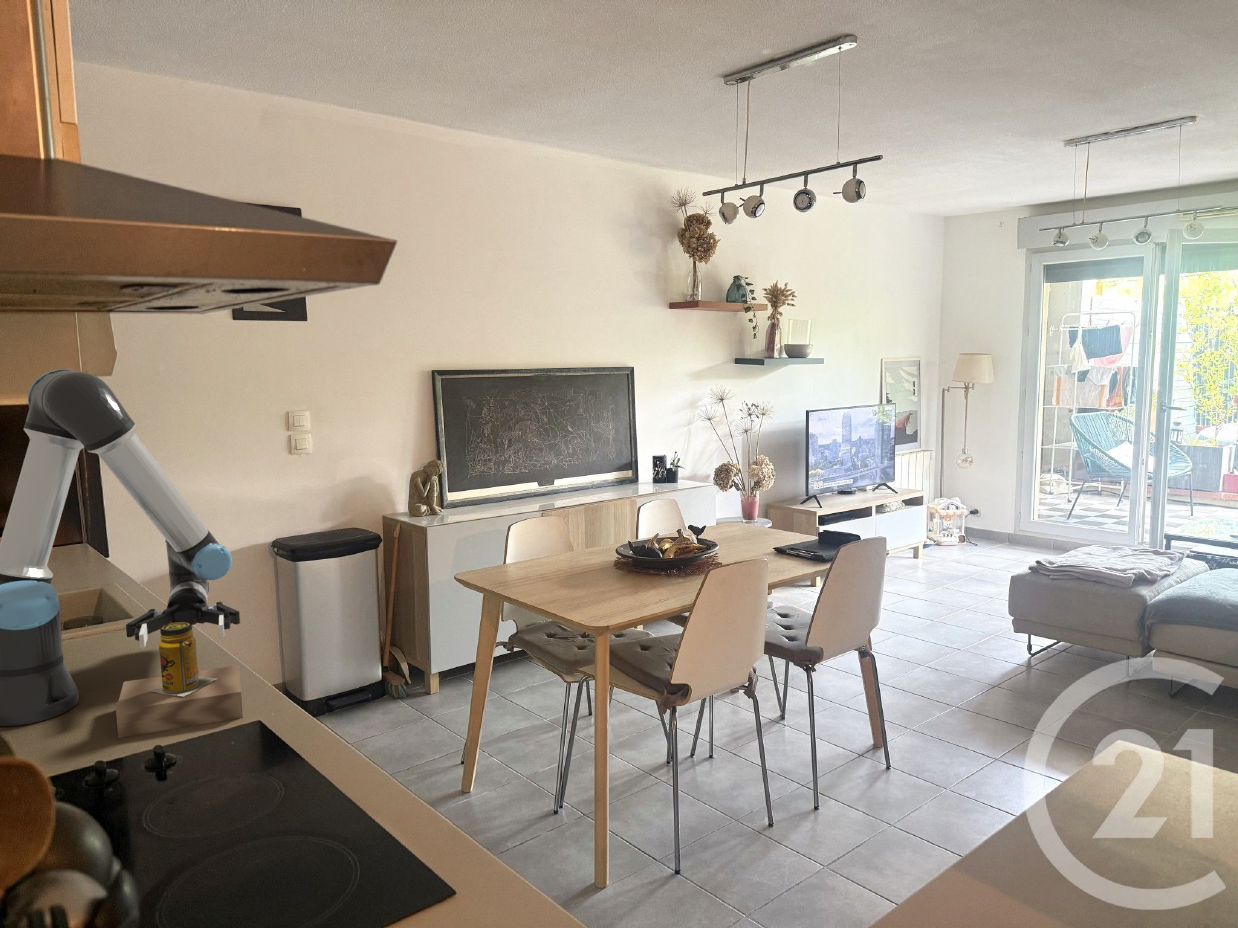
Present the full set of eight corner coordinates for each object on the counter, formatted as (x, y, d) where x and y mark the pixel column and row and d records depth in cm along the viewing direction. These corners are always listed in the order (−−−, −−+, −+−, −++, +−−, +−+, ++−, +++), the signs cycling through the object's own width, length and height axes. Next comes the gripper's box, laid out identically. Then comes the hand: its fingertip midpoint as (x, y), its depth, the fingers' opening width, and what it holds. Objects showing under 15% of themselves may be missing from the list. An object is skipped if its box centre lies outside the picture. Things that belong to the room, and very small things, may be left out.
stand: (118, 737, 152) (115, 710, 151) (125, 706, 164) (123, 681, 164) (242, 717, 160) (241, 691, 159) (240, 689, 173) (239, 665, 172)
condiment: (151, 692, 159) (146, 629, 157) (187, 675, 167) (182, 615, 165) (183, 697, 157) (178, 634, 155) (218, 680, 165) (213, 619, 163)
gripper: (252, 613, 190) (254, 645, 171) (122, 629, 180) (108, 665, 161) (250, 580, 189) (251, 609, 170) (118, 594, 179) (105, 626, 160)
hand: (182, 636), depth 166 cm, fingers open, 13 cm apart
